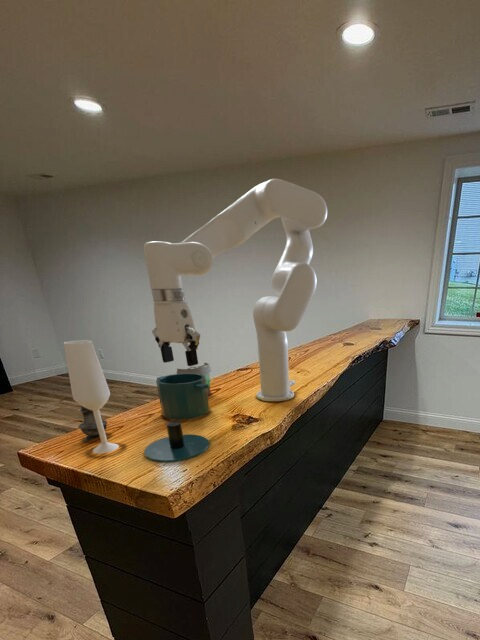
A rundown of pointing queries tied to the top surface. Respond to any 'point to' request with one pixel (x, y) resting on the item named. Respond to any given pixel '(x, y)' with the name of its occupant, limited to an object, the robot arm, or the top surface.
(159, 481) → the top surface
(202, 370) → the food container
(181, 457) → the lid
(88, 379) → the champagne flute
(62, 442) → the top surface
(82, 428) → the grey lumpy figure
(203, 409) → the pot
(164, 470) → the top surface
